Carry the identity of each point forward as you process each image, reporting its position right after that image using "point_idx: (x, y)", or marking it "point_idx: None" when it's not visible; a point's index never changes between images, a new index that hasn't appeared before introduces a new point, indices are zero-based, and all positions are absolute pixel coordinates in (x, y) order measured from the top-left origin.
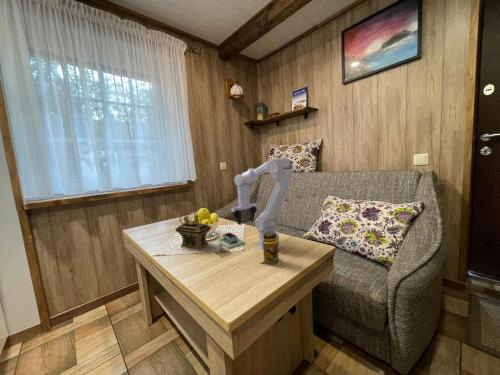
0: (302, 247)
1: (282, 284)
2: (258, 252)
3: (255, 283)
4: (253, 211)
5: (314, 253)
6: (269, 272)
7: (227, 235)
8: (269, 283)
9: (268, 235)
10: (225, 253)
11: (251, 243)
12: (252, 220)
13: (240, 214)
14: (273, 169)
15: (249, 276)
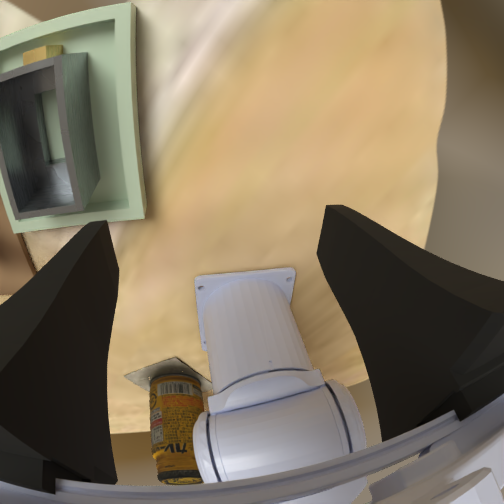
0: (339, 354)
1: (144, 431)
2: (169, 325)
3: None
4: (381, 409)
5: None
6: (139, 409)
7: (35, 70)
8: (120, 424)
9: (175, 481)
10: (6, 270)
11: (201, 210)
12: (325, 269)
13: (101, 447)
14: None
15: None
